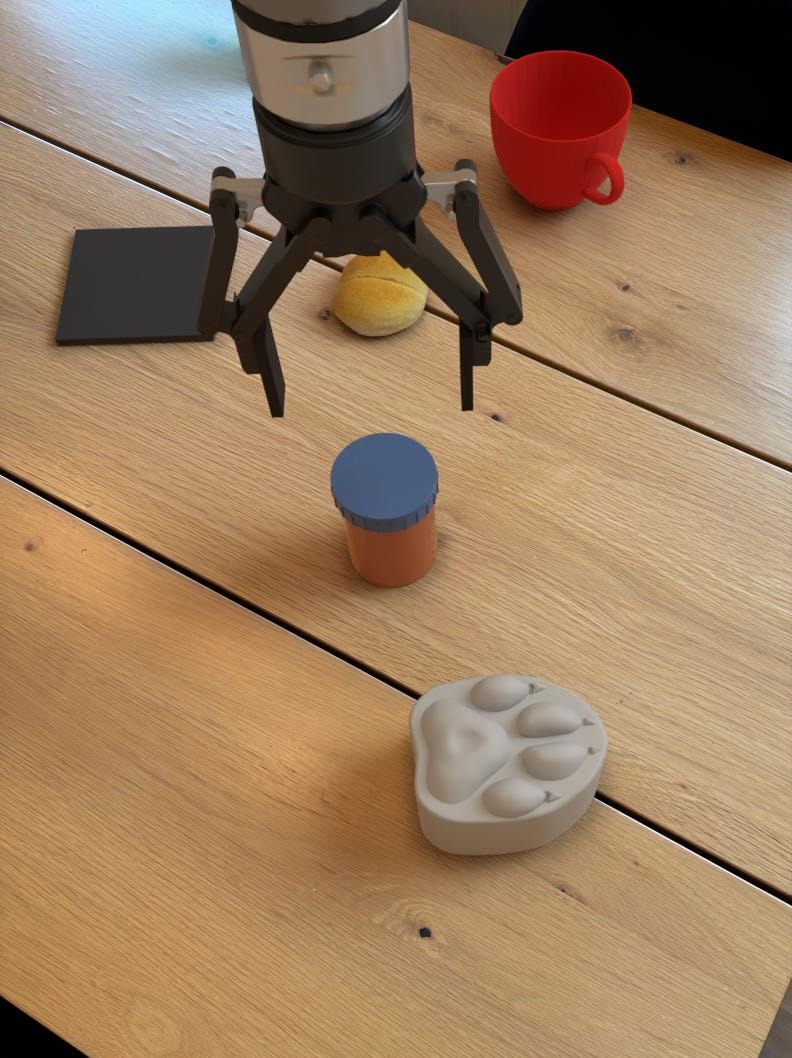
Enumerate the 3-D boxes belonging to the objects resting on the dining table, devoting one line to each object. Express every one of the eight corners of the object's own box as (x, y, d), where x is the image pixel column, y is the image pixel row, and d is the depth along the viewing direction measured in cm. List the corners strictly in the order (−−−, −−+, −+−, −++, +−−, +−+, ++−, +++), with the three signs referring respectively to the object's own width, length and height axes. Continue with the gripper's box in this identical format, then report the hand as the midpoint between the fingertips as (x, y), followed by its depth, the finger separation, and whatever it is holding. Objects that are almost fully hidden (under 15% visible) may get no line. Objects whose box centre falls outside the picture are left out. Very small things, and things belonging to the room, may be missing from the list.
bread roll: (325, 333, 95) (319, 300, 92) (352, 263, 99) (347, 229, 96) (413, 348, 94) (411, 315, 91) (437, 277, 98) (435, 243, 95)
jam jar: (349, 589, 83) (334, 521, 74) (350, 515, 86) (336, 441, 77) (438, 585, 83) (433, 517, 74) (436, 512, 86) (431, 438, 78)
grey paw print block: (410, 724, 77) (403, 672, 70) (585, 706, 78) (597, 653, 70) (423, 862, 72) (416, 823, 65) (609, 842, 73) (624, 801, 65)
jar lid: (331, 536, 75) (328, 521, 74) (333, 449, 79) (330, 433, 77) (440, 532, 75) (439, 517, 74) (437, 445, 79) (436, 430, 77)
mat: (57, 345, 94) (54, 339, 94) (78, 235, 101) (75, 229, 100) (214, 340, 95) (212, 334, 94) (224, 231, 101) (223, 224, 100)
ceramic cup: (552, 277, 98) (559, 187, 90) (464, 170, 105) (463, 76, 96) (667, 230, 101) (685, 137, 92) (575, 128, 108) (583, 34, 99)
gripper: (61, 145, 47) (183, 450, 66) (593, 130, 47) (560, 437, 67) (83, 41, 50) (193, 360, 70) (578, 28, 51) (551, 348, 70)
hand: (372, 398), depth 68 cm, fingers open, 11 cm apart
